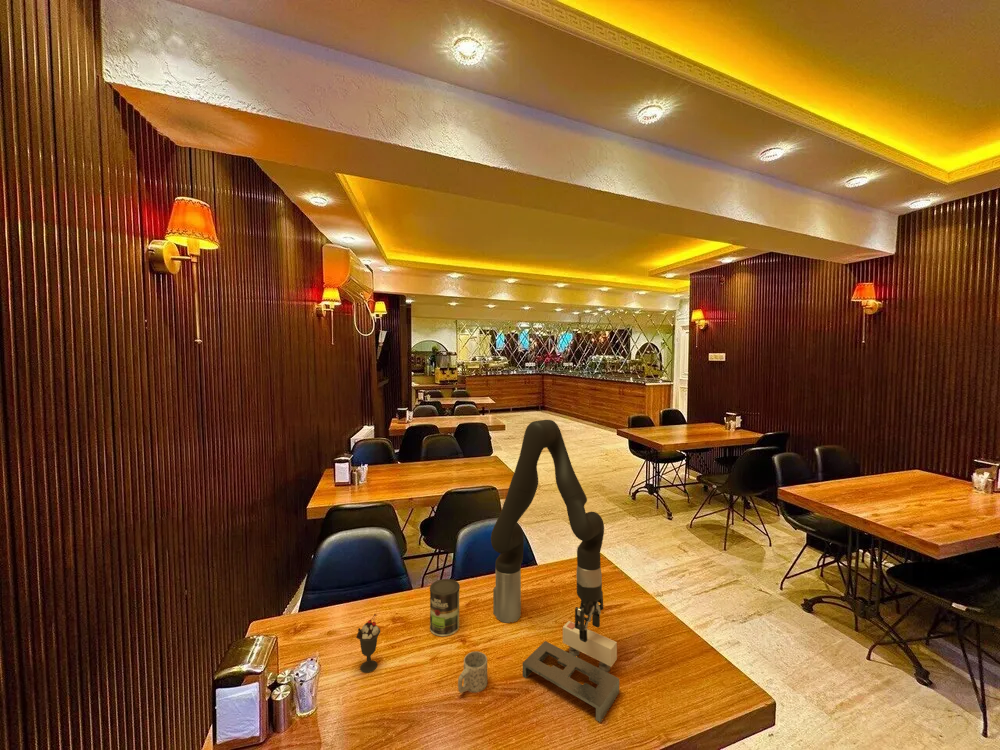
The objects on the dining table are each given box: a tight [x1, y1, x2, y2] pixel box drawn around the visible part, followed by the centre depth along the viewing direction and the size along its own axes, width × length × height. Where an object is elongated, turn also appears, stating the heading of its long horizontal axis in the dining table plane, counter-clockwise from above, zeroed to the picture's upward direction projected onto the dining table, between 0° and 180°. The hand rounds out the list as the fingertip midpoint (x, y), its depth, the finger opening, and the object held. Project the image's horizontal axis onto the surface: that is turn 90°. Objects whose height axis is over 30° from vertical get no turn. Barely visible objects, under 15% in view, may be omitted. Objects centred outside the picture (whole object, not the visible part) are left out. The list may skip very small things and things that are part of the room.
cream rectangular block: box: [562, 620, 618, 673], centre depth 119 cm, size 16×4×8 cm, turn 51°
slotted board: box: [522, 640, 620, 723], centre depth 110 cm, size 24×12×4 cm, turn 51°
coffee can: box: [429, 578, 461, 638], centre depth 135 cm, size 10×10×14 cm
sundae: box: [356, 613, 381, 674], centre depth 117 cm, size 7×7×15 cm
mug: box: [457, 650, 488, 694], centre depth 109 cm, size 10×7×7 cm, turn 141°
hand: (589, 633), depth 119 cm, fingers open, 8 cm apart
